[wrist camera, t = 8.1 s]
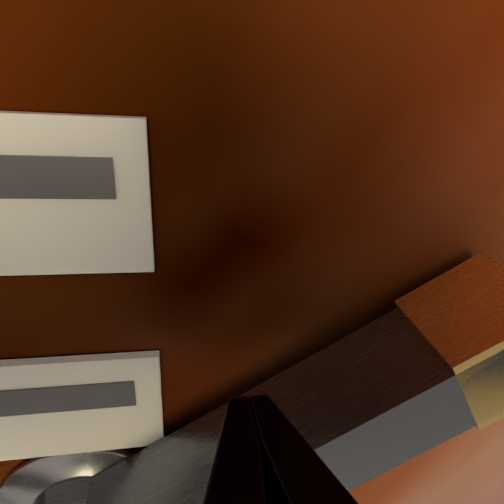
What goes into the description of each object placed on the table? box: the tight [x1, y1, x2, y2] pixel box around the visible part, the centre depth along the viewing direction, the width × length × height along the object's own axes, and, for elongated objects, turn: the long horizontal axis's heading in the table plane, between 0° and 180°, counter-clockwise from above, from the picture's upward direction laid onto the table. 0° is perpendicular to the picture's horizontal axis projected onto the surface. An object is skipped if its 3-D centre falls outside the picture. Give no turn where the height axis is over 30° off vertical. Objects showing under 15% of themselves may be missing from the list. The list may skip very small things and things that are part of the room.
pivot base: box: [0, 449, 135, 504], centre depth 15 cm, size 6×6×1 cm
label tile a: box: [0, 350, 164, 461], centre depth 12 cm, size 6×4×1 cm, turn 86°
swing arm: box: [33, 253, 504, 504], centre depth 12 cm, size 18×4×4 cm, turn 120°
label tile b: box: [0, 111, 155, 276], centre depth 9 cm, size 6×4×1 cm, turn 86°
